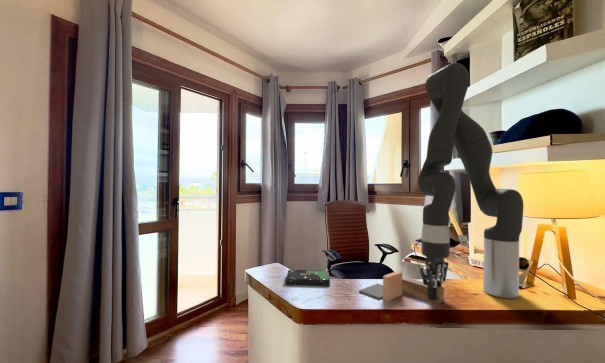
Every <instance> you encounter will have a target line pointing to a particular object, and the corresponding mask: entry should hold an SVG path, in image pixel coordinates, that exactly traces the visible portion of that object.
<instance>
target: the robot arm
mask: <svg viewBox="0 0 605 363" xmlns="http://www.w3.org/2000/svg"><path fill="white" fill-rule="evenodd" d="M469 82H470V75H469V70H468V69H467V68H466V66H465V65H463V64H461V63H458V62H452V63H449V64H447V65H446V66H444V67H442V68H441V69H439V70H436V71H435V72H433V73H432V74H430V75H428V77H427V78H426V81H425V92H426V93H427V96H428V98H429V101H430V102H431V103H432V105H433V106H434V108H435V110H436V112H437V113H438V116H437V118H436V120H435V122H434V125H433V127H432V128H431V130H430V133H429V136H428V141H427V149H426V158H425V161H424V162H423V165H422V167H421V170H420V172H419V175H418V177H417V178H418V179H417V186H418V190H419V192H420V194H422V195H424V196H427V197H433V198H432V202H431V203H429V204H425V205H424V207H423V208H422V228H421V254H422V256H425V266H421V267H420V274H421V277H422V282H423V283H424V285H427V286H428V299H431V300H436V286H439V287H443V284H444V282H446V279H447V275H448V274H447V273H448V268H449V262H448V261H445V259H447V258H450V245H451V244H450V243H451V242H450V238H451V236H450V235H451V233H450V226H449V225H450V224H449V223H450V222H449V220H450V219H449V218H450V216H449V215H450V209H451V206H452V203H453V200H454V196H455V193H456V180H455V178H454V176H452V175H451V174H450V173H448V172H445V171H444V172H441V170H442V169H443V168H444V167H446V166H449V165H450V164H451V163H452V160H453V154H454V153H453V152H454V148H455V151H456V153H457V155H458V157H459V159H460V161H461V163H462V165H463V168H464V170H465V173H466V175H467V177H468V179H469V182H470V185H471V187H472V192H473V195H474V197H475V200H476V204H477V206H478V208H479V210H480V212H482V214H484V215H485V216H488V217H491V218H496V223H495V225H493V226H490V227H486V228H484V230H483V282H482V284H483V287H482V288H483V290H482V291H483V292H484V293H486V294H487V295H488V294H489V295H490V296H493V297H497V298H503V299H512V300H513V299H517V298H519V296H520V293H519V290H520V289H519V288H520V236H521V233H522V230H523V221H524V220H523V219H524V201H523V197H522V195H521V193H520V192H519V191H518V190H515V189H511V188H496V187H495V184H494V183H493V180H492V178H491V174H490V169H491V162H492V157H493V146H492V144H491V142H490V139H489V138H488V135H487V132H486V131H485V129H484V128H483V126H481V125H480V124H479V123H478V122H477V121H475V120H474V119H473V118H472V117H470V116H469V115H468V114H466V113H465V112H464V111H463V110H462V108H463V106H464V102H465V98H466V95H467V91H468V88H469Z"/></svg>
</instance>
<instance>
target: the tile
mask: <svg viewBox="0 0 605 363" xmlns="http://www.w3.org/2000/svg"><path fill="white" fill-rule="evenodd" d="M402 276H403V272H402V271H399V270H397V271H393V272H390V273H387V274H385V275H383V276H382V280H383V281H382V285H383V298H382V300H383V301H386V302H390V301H391V300H394V299H396V298H398V297H401V296H402V295H403V292H402Z"/></svg>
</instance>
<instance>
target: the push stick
mask: <svg viewBox="0 0 605 363" xmlns="http://www.w3.org/2000/svg"><path fill="white" fill-rule="evenodd" d="M402 293H406V294H409V295H411V296H414V297H417V298H420V299H424V300H427V301H431V302H433V303H436V304H439V303H440V304H441V303H442V302H444V301H445V287H443V286H442V287H439V286H436V300H431V299H428V286H427V285H424V283H423V281H421V280H417V279H413V278H409V277H405V276H403V275H402Z"/></svg>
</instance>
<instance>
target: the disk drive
mask: <svg viewBox="0 0 605 363" xmlns="http://www.w3.org/2000/svg"><path fill="white" fill-rule="evenodd" d="M330 278H331V276H330V274H329V271H328V270H311V269H309V270H308V269H306V270H305V269H288V270H287V274H286V277H285V286H306V287H307V286H309V287H330V286H331V279H330ZM310 279H311V280H310ZM323 279H325V280H323Z"/></svg>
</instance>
